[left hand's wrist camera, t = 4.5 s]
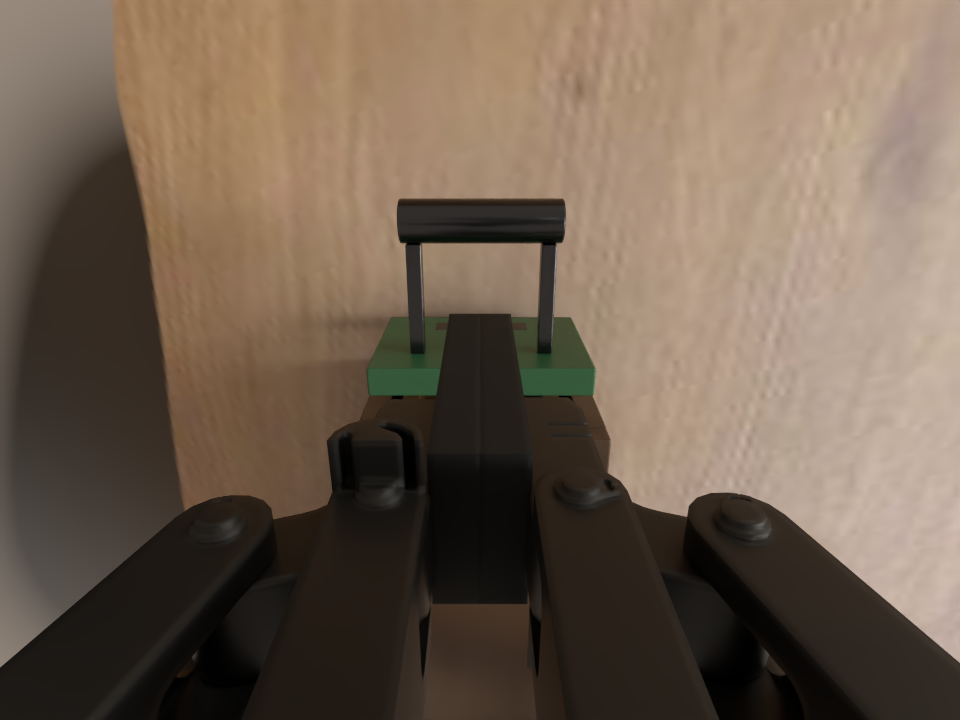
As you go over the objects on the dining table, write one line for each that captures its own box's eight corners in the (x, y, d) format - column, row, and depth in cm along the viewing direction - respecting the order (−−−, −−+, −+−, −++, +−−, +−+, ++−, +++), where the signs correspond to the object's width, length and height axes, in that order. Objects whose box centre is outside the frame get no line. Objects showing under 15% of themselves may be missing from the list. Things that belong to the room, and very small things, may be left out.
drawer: (382, 186, 27) (353, 204, 20) (579, 187, 27) (609, 204, 20) (409, 621, 36) (394, 724, 30) (552, 621, 36) (567, 724, 30)
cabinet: (384, 358, 31) (350, 439, 23) (577, 357, 31) (611, 439, 23) (404, 654, 39) (384, 793, 31) (557, 654, 39) (577, 793, 31)
